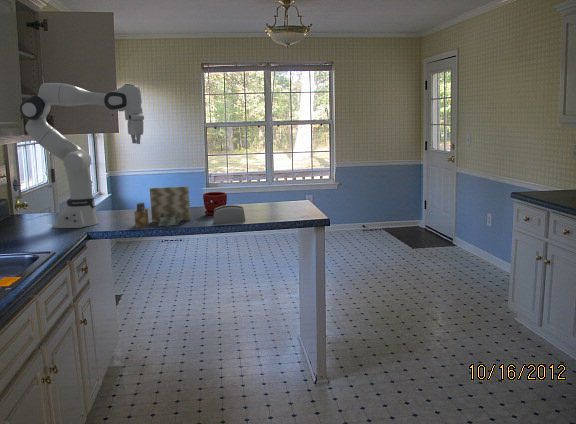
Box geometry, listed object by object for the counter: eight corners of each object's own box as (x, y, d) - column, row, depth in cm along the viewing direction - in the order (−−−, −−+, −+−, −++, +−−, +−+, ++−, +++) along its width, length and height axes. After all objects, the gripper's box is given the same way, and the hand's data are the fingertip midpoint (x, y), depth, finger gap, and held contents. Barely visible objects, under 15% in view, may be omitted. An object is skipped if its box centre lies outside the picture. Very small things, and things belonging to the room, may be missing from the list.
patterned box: (148, 227, 280) (145, 192, 277) (153, 221, 296) (150, 187, 293) (188, 225, 282) (185, 190, 279) (190, 219, 298) (188, 186, 295)
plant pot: (201, 216, 304) (199, 195, 302) (208, 212, 317) (206, 191, 315) (224, 216, 302) (223, 194, 300) (230, 212, 315) (229, 191, 313)
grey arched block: (244, 219, 293) (244, 202, 288) (245, 223, 289) (245, 206, 284) (212, 221, 289) (212, 204, 284) (213, 226, 285) (213, 209, 280)
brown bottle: (135, 227, 281) (133, 205, 279) (139, 223, 291) (137, 202, 289) (145, 227, 281) (143, 204, 279) (148, 223, 291) (147, 201, 289)
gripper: (123, 117, 291) (125, 143, 294) (131, 116, 273) (134, 144, 276) (135, 116, 294) (138, 142, 297) (144, 116, 276) (147, 143, 279)
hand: (136, 143), depth 286 cm, fingers open, 8 cm apart
